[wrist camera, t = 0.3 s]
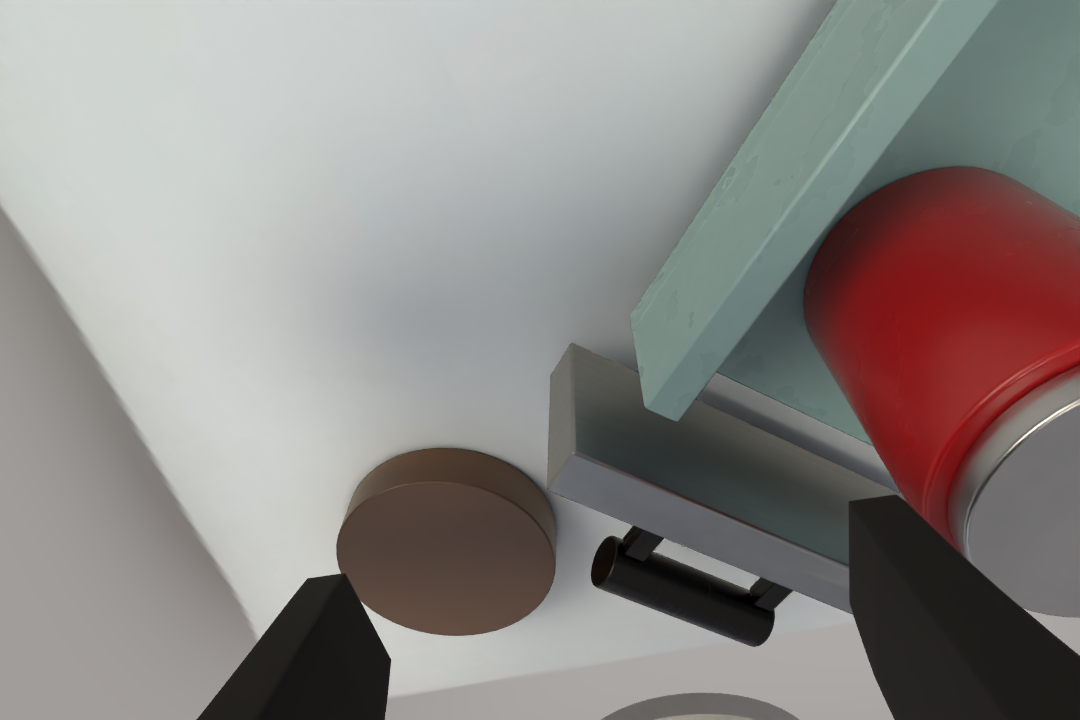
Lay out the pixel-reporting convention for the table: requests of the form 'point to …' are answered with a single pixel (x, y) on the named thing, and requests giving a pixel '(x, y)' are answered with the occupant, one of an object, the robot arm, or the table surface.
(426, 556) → the stand
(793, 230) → the drawer
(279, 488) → the table surface
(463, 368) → the table surface
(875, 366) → the can
